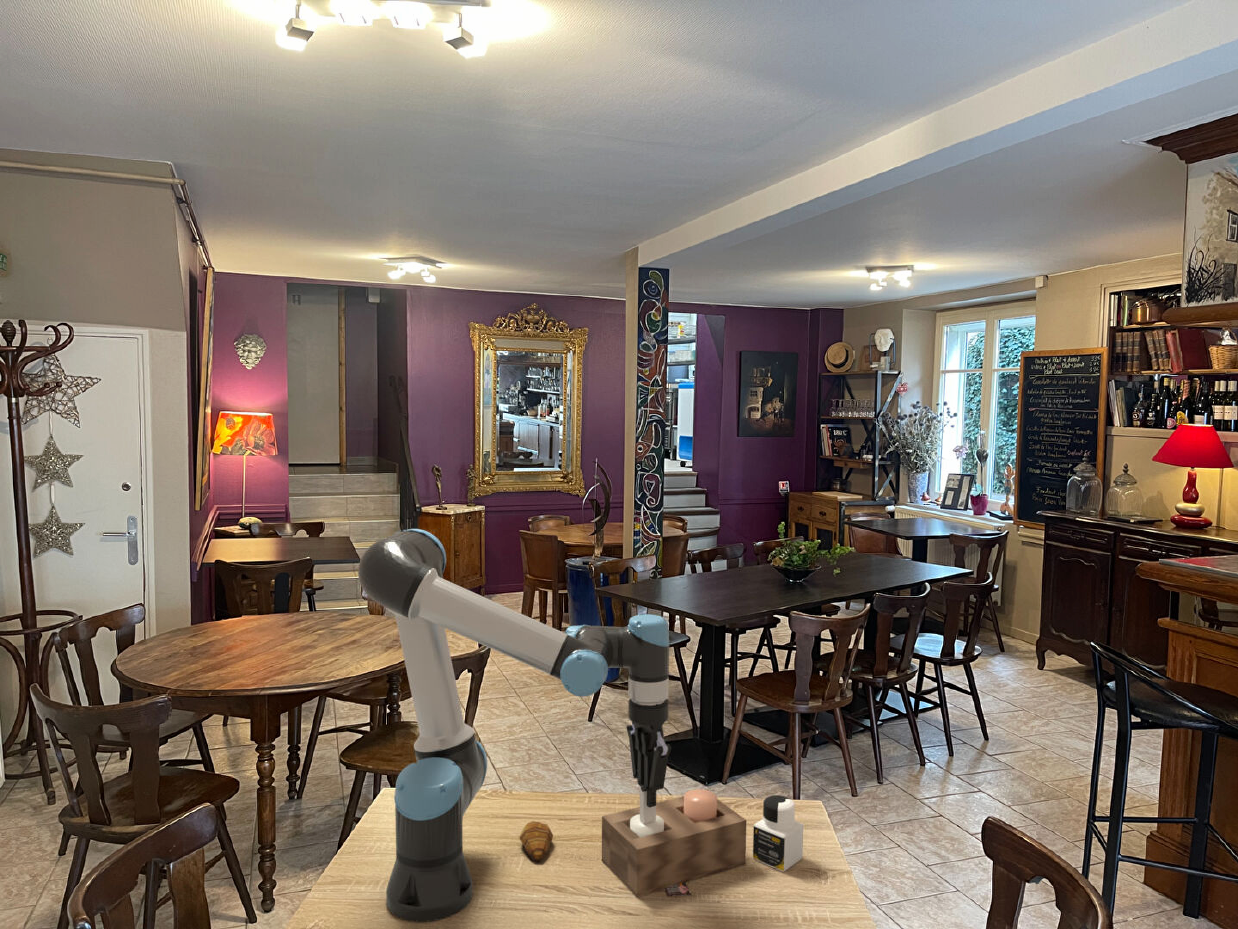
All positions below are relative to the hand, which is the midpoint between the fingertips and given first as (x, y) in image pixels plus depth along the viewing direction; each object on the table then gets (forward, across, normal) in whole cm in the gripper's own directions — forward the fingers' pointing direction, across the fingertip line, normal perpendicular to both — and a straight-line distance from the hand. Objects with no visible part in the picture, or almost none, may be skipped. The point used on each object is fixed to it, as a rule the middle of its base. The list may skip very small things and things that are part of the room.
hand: (647, 820), depth 166 cm
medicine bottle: (+10, -8, -25) cm, 28 cm away
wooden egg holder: (+10, 0, -6) cm, 12 cm away
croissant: (+10, +18, +15) cm, 26 cm away
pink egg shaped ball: (+6, 0, -12) cm, 13 cm away
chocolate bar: (+11, -5, -3) cm, 12 cm away
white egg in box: (+8, 0, 0) cm, 8 cm away
